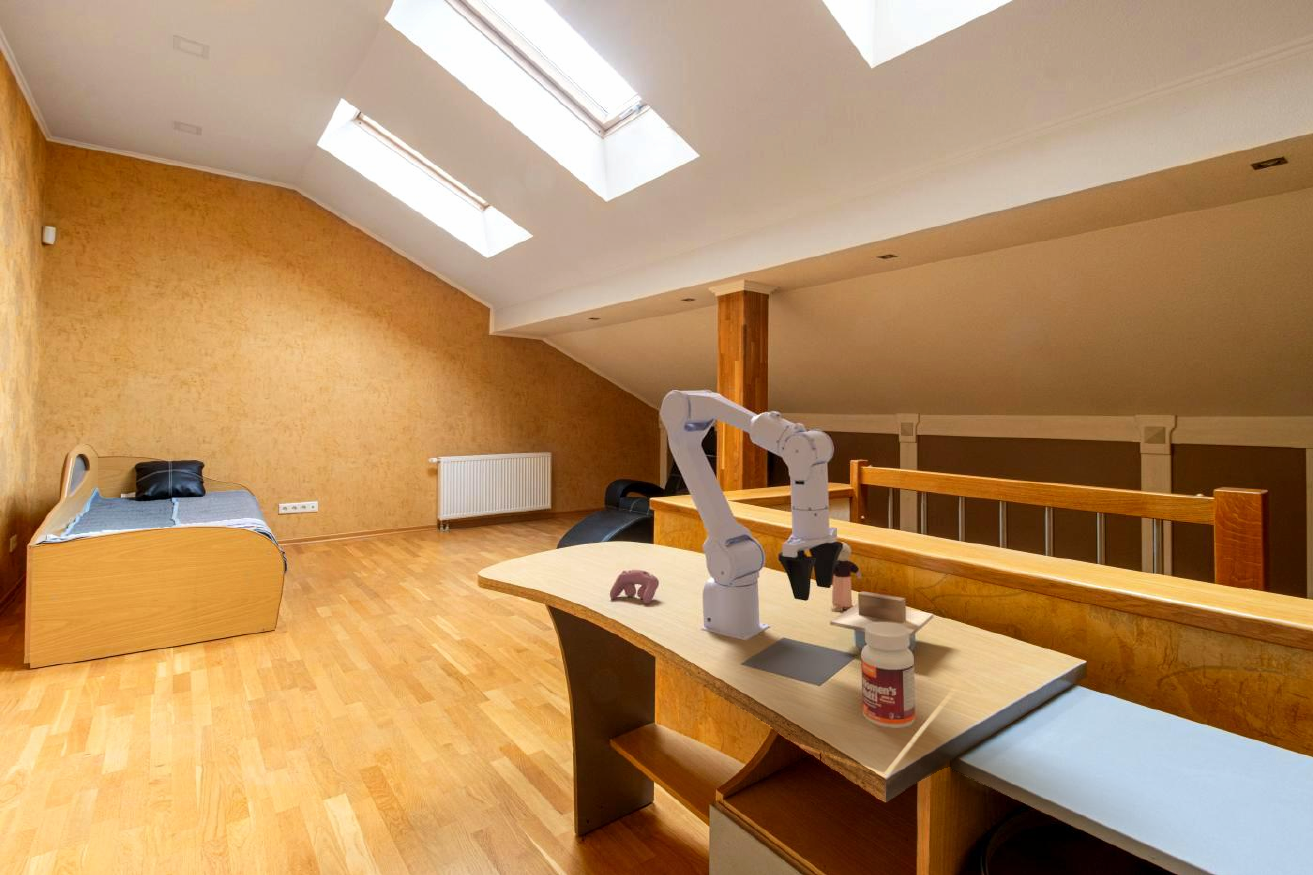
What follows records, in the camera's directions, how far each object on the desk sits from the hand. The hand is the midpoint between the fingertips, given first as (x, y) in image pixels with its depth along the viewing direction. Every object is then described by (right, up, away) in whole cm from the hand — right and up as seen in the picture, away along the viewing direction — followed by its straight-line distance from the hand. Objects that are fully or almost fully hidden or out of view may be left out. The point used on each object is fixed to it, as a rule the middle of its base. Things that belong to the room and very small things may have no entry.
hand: (812, 592), depth 99 cm
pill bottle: (+4, -11, -21) cm, 24 cm away
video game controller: (-29, -10, +33) cm, 45 cm away
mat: (-3, -10, -3) cm, 11 cm away
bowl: (+12, -9, +1) cm, 15 cm away
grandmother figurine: (+11, -8, +20) cm, 25 cm away
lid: (+11, -5, +1) cm, 12 cm away
